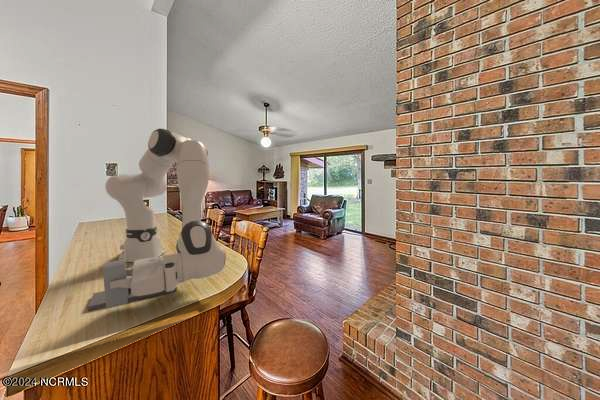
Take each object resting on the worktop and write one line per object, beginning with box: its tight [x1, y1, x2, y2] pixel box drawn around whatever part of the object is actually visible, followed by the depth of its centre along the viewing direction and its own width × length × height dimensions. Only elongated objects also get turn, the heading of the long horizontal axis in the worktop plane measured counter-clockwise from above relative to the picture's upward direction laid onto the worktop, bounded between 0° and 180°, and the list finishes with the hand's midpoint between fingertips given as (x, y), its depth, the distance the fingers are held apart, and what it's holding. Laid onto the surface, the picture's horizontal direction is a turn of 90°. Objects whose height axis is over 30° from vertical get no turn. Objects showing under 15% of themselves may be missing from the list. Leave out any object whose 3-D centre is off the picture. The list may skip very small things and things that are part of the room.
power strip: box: [87, 286, 178, 312], centre depth 77 cm, size 9×22×3 cm, turn 123°
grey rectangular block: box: [102, 259, 129, 309], centre depth 65 cm, size 4×4×11 cm
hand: (111, 280), depth 65 cm, fingers closed on grey rectangular block, 4 cm apart
